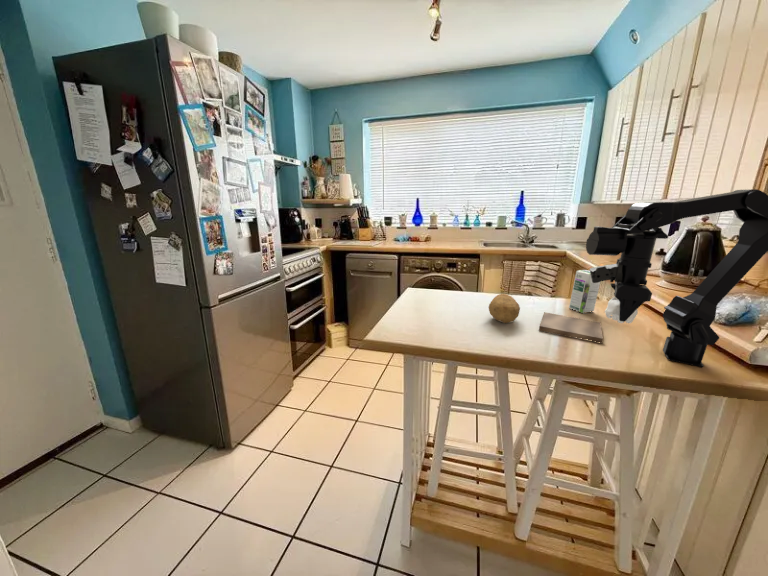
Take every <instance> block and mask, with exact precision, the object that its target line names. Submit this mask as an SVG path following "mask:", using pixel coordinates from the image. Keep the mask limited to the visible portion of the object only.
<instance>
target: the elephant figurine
mask: <svg viewBox="0 0 768 576" xmlns="http://www.w3.org/2000/svg"><path fill="white" fill-rule="evenodd" d="M619 303H620V301H619V300H618V299H617V298H616V297H615V296H614V297H612V298H611V299H610V300H608V302H607V307H606V309H605V310H604V313H605V316H606V318H608V319H612V320H614V321H617V323H618V324H623V323H625V322H626V324H632V323H633V321H635V319H636V317H637V315H638V312H639V309H637V310H636V311H635V312H634V313H633V314H632V315H631V316H630V317H629V318H628V319H627V320H626V321H625V322H623V321H620V320H619Z"/></svg>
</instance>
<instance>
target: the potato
mask: <svg viewBox="0 0 768 576" xmlns="http://www.w3.org/2000/svg"><path fill="white" fill-rule="evenodd" d="M520 309H521V307H520V304H519V302H517V300H516V299H515V298H514V297H512V296H511V295H509V294H507V293H499V294H497V295H495V296H494V297H493V299H492V300H491V301H490V303H488V311H489V314H490V315H491V316H492V317H493V318H494V319H495V320H496V321H498V322H501V323H503V324H509V323H512V322H514V321H515V320H516V319H517V318H519V315H520V311H521V310H520Z"/></svg>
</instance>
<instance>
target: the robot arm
mask: <svg viewBox="0 0 768 576" xmlns="http://www.w3.org/2000/svg"><path fill="white" fill-rule="evenodd" d="M732 211H733V212H734V215H735V217H736V218H737V219H738V220H739V221H741V222H742V224H741V226H740V228H739V230H738V231H739V232H738V240H737V242H736V244H735V245H734V246H733V247H732V248H731V249H730V250H729V251H728V252H727V253H726V255H724V257H723V258H722V259H721V261H719V262H718V264H717V265H716V266H715V267H714V268H713V269H712V270H711V272H710V273H708V275H707V276H706V277H705V278H704V279H703V280H702V282H700V284H699V285H698V286H697V287H696V288H695V290H694V291H693V292H692V293H691V294H688V295H686V296H683V297H682V296H679V295H675V296H674V297H672V299H671V301H670V302H669V304H667V305H666V306H664V307H663V309H664V311H663V313H662V317H663V321H664V323H665V324H666V329H667V330H669V331H671V332H670V335H669V336H666V338H665V342H664V344H663V348H662V352H663V354H664V355H665V356H666V358H667V360H669V361H672V362H677V363H682V364H685V365H689V366H696V367H700V368H704V367H705V365H704V364H703V362H702V361H703V359H704V356H705V353H706V350H707V347H708V345H709V346H710V345H711V346H713V345H715V344H716V343H717V342H718V340H719V339H720V336H719V335H718V334H717V333H716V332H715V330H714V329H713V327H711V325H712V324H713V322H714V321H715V319H716V317H717V316H716V315H717V306H718V305H719V304H720V302H721V301H722V300H723V299H724V298H725V297H726V296H728V294H729V293H730V292H731V291H732V289H734V288H735V287H736V285H737V284H738V283H739V282H740V281H741V280H742V279H743V278H744V277H745V276H746V275H747V273H748V272H750V271H751V270H752V269H753V267H754V266H755V265H757V263H758V262H759V261H760V260H761V259H762V257H764V256H765V255H766V254H767V252H768V194H766V193H765V192H764V191H762V190H760V189H757V188H756V189H735V190H733V191H730V192H724V193H719V194H712V195H706V196H699V197H694V198H689V199H688V198H687V199H683V200H676V201H640V202H635V203H633V204H631V206H630V207H629V208H628V209H627V211H626V213H625V215H624V216H622V217H621V218H620V219H619V220H618V221H617V222H616V223H615V224H614V225H613V226H612V227H605V226H593V231H592V232H591V233H589V236H588V238H586V241H585V242H586V244H585V249H586V252H587V254H588V255H590V256H619V255H620V257H618V258H617V259H616V263H614V264H613V263H611V264H606V265H600V266H599V265H598V266H594V267H590V268H589V271H590V274H591V278H592V282H593V283H598V282H600V281H601V282H604V281H609V282H610V286H611V288H612V289H613V290H614V292H613V295H614V297H616V298H617V299H618V300H619V301H620V303H619V320H620V321H623V322H624V323H625V322H626V320H627V319H628V318H629V317H630V316H631V315H632V314H633V313H634V312H635V311H636V310H639V308H640V307H641V306H642V304H644V303H646V302H651V299H652V295H653V291H651V290H650V289H649V288H648V286H647V283H648V280H647V276H648V271H649V269H651V268H652V264H653V263H652V262H651V261H652V256H653V252H654V249H655V245H656V243H657V242H656V241H657V239H660V240H661V239H668V238H669V235H668V234H667V233H665V232H664V230H663V229H662V227H664V226H668V225H671V224H673V223H675V222H678V221H680V220H683V219H687V218H692V217H693V218H694V217H699V216H700V217H701V216H705V215H712V214H713V215H714V214H720V213H725V212H732ZM601 282H600V283H601Z"/></svg>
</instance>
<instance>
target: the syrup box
mask: <svg viewBox="0 0 768 576" xmlns="http://www.w3.org/2000/svg"><path fill="white" fill-rule="evenodd" d="M601 282H602V281H600V282H598V283H593V282H592V278H591V274H590V269H588V270H587V269H579V270H576V272H575V277H574V280H573V287H572V291H571V296H570V302H569V306H568V309H569V308H571V309H570V310H572V309H573V310H572V311H574V310H576V311H575V312H577V311H579V312H581V313H583V314H585V313H584V312H590V311H594V312H595V307H596V302H597V299H598V294H599V289H600V285H601ZM579 312H578V313H579ZM581 313H580V314H581Z"/></svg>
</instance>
